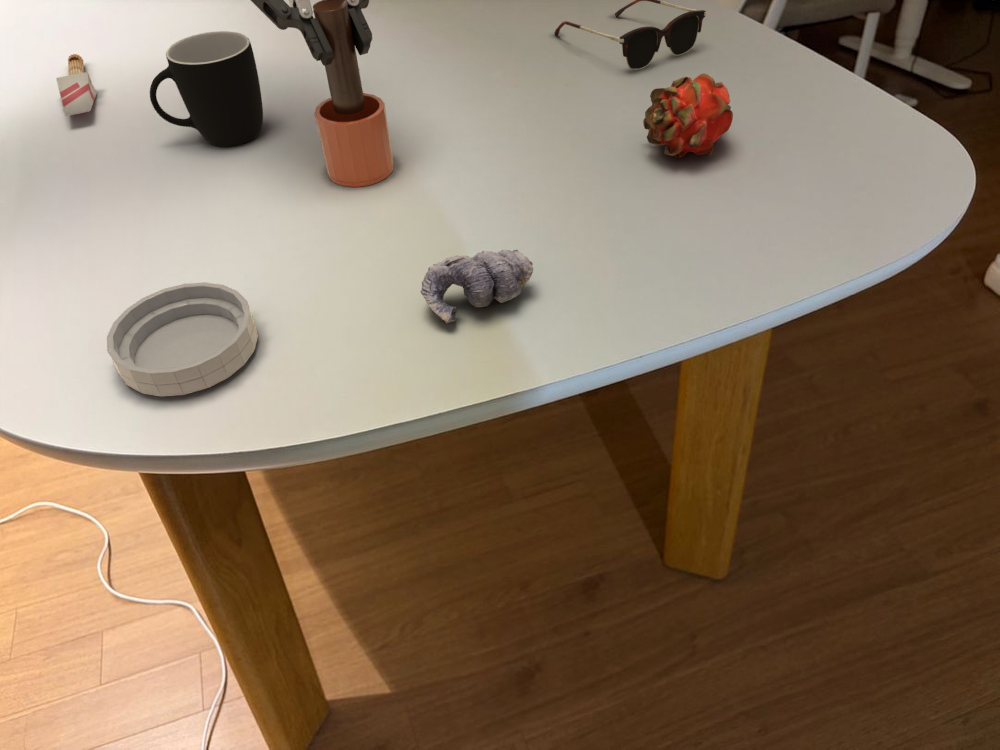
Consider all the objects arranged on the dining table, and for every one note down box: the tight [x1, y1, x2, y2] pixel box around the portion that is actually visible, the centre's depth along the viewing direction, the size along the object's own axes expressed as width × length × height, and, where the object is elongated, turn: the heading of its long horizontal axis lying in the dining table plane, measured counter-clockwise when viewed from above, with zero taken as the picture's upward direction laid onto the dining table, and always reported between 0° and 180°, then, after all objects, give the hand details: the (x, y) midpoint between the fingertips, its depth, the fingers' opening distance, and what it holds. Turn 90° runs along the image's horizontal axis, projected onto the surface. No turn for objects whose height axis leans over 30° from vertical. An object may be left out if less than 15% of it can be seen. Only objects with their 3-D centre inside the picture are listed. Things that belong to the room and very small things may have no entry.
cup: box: [314, 92, 394, 188], centre depth 83 cm, size 7×7×7 cm
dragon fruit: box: [642, 73, 734, 159], centre depth 84 cm, size 8×8×12 cm
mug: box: [149, 30, 264, 147], centre depth 89 cm, size 12×9×10 cm
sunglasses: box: [554, 0, 707, 70], centre depth 106 cm, size 14×16×5 cm
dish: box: [106, 281, 259, 397], centre depth 64 cm, size 11×11×3 cm
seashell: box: [420, 249, 534, 324], centre depth 67 cm, size 5×5×10 cm
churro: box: [55, 53, 98, 117], centre depth 102 cm, size 4×3×20 cm
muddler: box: [312, 0, 365, 115], centre depth 77 cm, size 3×3×10 cm
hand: (347, 54), depth 76 cm, fingers closed on muddler, 3 cm apart
